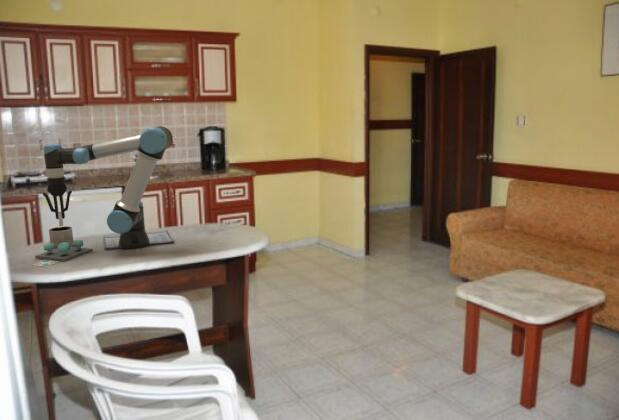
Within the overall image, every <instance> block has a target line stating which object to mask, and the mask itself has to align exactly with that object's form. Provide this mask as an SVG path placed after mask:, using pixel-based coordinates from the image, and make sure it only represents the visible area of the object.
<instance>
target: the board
mask: <svg viewBox="0 0 619 420" xmlns="http://www.w3.org/2000/svg"><path fill="white" fill-rule="evenodd" d="M93 252H94V249H93V248H88V247H81V249H76V247H73V246H72V247H70V248H69V251H66V254H62V252H58V248H57V249H53V250H52V252H51V253H47V251H45V252H42V253H39V254H36V255H34V259H36V260H42V261H44V260H51V261H59V263H61V262H62V263H65V262H68V261H71V260H73V259H77V258H80V257H82V256H85V255H87V254H91V253H93Z"/></svg>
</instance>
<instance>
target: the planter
mask: <svg viewBox="0 0 619 420" xmlns="http://www.w3.org/2000/svg"><path fill="white" fill-rule="evenodd" d="M48 234H49V235H48V236H49V243H54V247H55V249H57V248H58V246H59V243H63V242H69V245H70V247H73V241H74V235H73V228H72V226H64V225H63V226H57V227H52V228H49V229H48Z"/></svg>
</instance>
